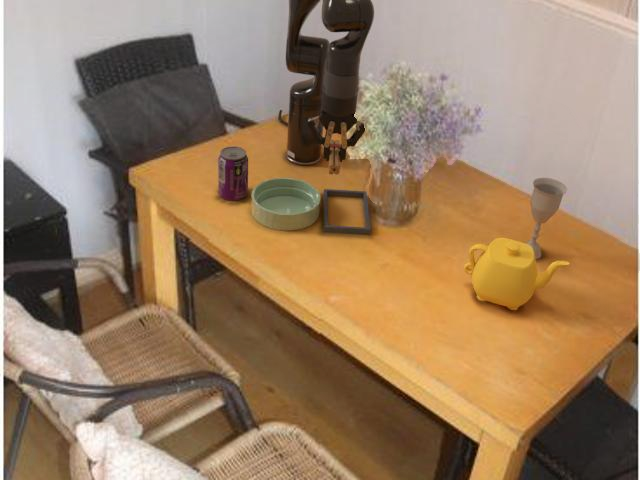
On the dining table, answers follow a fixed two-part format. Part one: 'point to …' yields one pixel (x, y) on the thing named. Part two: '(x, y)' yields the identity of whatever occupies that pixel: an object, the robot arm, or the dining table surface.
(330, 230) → the tray
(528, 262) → the teapot
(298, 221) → the bowl
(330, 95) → the robot arm
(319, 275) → the dining table surface
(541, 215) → the chalice
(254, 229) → the dining table surface
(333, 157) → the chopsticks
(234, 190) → the beverage can
